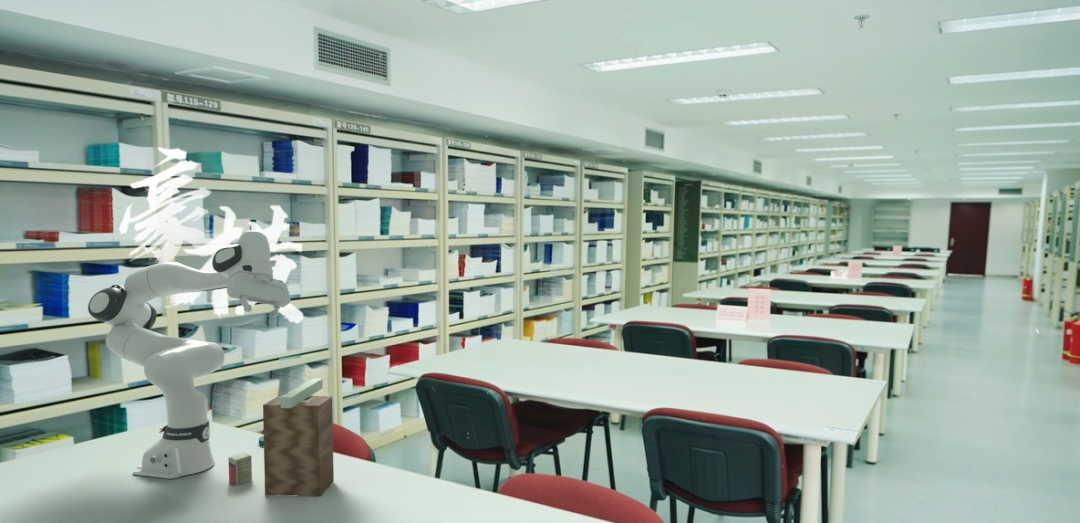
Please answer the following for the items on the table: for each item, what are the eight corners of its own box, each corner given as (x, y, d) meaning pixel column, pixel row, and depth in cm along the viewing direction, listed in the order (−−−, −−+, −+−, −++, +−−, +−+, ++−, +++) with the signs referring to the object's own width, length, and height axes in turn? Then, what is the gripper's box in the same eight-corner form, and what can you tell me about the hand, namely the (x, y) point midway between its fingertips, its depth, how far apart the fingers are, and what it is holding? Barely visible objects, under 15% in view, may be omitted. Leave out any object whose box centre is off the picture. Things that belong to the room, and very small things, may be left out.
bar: (280, 407, 175) (280, 397, 174) (313, 388, 197) (313, 378, 196) (291, 408, 174) (291, 397, 174) (322, 388, 196) (322, 378, 196)
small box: (244, 477, 192) (244, 451, 192) (252, 480, 190) (251, 454, 189) (228, 482, 188) (227, 456, 188) (236, 486, 186) (235, 459, 185)
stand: (265, 495, 179) (263, 404, 178) (281, 481, 189) (279, 395, 188) (320, 496, 179) (318, 405, 177) (333, 482, 188) (332, 396, 187)
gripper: (280, 286, 214) (284, 322, 208) (222, 273, 198) (225, 312, 192) (292, 277, 212) (296, 314, 206) (234, 264, 195) (237, 303, 189)
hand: (261, 313), depth 199 cm, fingers open, 8 cm apart
